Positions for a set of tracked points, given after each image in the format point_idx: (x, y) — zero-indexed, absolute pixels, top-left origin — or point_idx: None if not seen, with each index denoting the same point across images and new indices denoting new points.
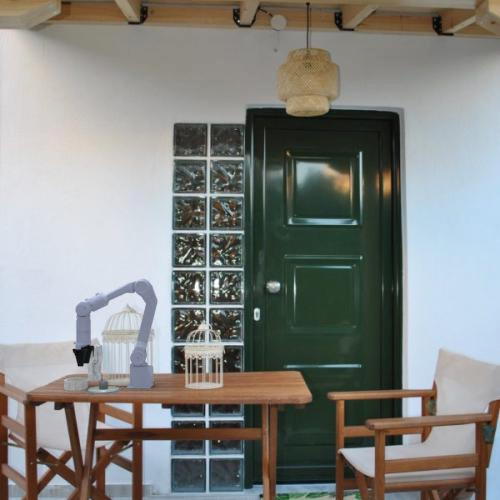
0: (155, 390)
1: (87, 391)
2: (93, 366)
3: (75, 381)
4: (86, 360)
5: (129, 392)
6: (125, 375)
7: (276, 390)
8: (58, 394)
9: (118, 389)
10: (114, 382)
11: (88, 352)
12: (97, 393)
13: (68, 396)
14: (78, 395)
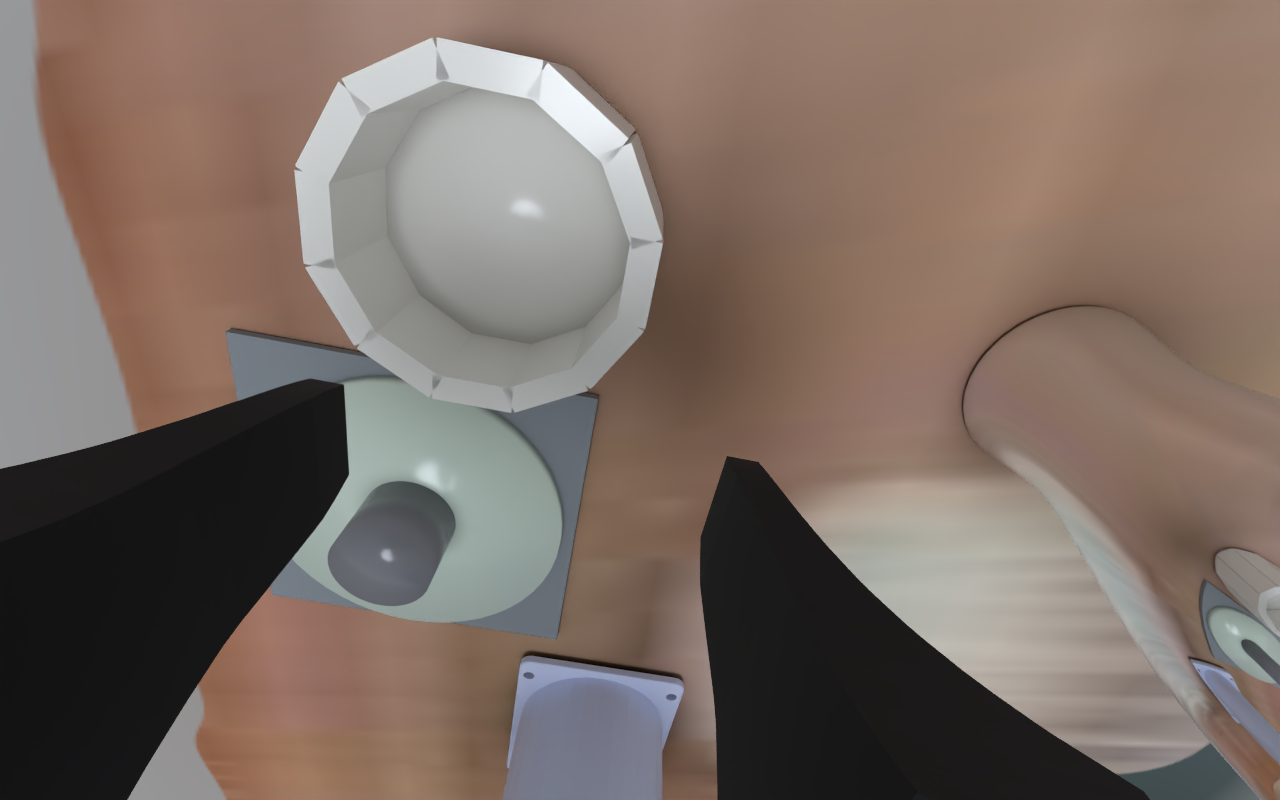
0: (463, 779)
1: (336, 373)
2: (1089, 503)
3: (320, 263)
4: (715, 550)
5: (378, 663)
6: None
7: None
8: (142, 16)
9: (410, 616)
10: (853, 570)
11: (733, 770)
12: None
13: (67, 182)
14: (157, 293)
